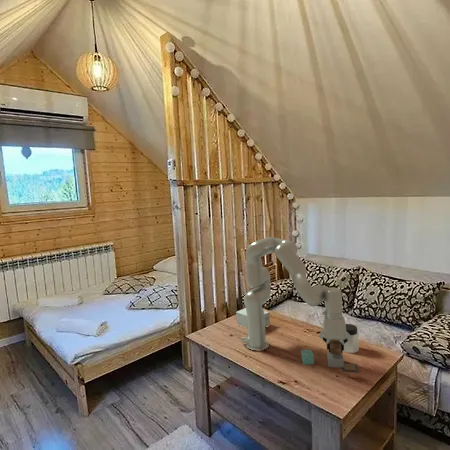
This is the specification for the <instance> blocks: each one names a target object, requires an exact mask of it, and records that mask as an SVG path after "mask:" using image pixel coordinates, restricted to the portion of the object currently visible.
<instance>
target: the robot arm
mask: <svg viewBox="0 0 450 450" xmlns="http://www.w3.org/2000/svg"><path fill="white" fill-rule="evenodd" d="M297 253H298V247H297V244H296V243H295V242H293V241H292V240H289V239H284V238H278V237H272V236H271V237H270V236H267V237H264V238H262V239H258V240H256V241H254V242H252V243H250V244H249V245H248V246H247V247H246V251H245V263H246V266H245V270H246V272H245V276H246V277H245V278H246V279H245V280H246V284H247V286H248V287H249V288H251V289H250V290H249V291H248V292H246V293H245V295H244V298H243V301H244V306H245V307H244V308H246V312H247V325H248V329H247V336H246V337H244V336H241V337H240V341H241V342H242V343H245V347H246V346H247V347H248V348H249V349H251V350H250V351H252V350H262V351H265V350H267V349H268V348H269V347H270V342H269V341H268V340H267V338H266V337H267V336H266V335H267V334H266V328H265V317H264V311H265V310H264V308H263V305H264V304H265V303H266V302H267V301H269V299H270V298H271V297H270V296H271V273H270V272H269V269H267V267H265V266H263V260H262V257H265V256H267V255H270V254H274V255H275V256H276V258H277V259H278V261H280V263H281V264H282V265H283V267H284V268H285V270H287V272H288V273H289V275H290V276H291V279H292V283H293V285H294V288H295V290H296V291H297V293H298V295H299V296H300V297H301V299H302V300H303V301H304V302H305V303H306V304H307V305H309V306H311V307H317V306H318V305H319V306H320V304H321V303H322V302H324V306H325V307H324V309H325V310H323V311H322V315H324V318H323V324H322V325H323V326H322V327H323V328H322V330H321V332H320V333H319V334H318V337H319V338H320V340H323V342H325V344H326V350H327V351H328V352H330V342H329V341H330V339H333V340H341V353H342V354H343V352H344V351H343V350H344V344H345V343H346V342H347V341H348V340H350V339H351V335H350V334H349V333H348V332H347V331H346V324H347V323H346V320H345V317H344V316H343V299H342V298H343V294H342V290H341V289H340V288H338V287H330V286H329V287H328V286H325V285H320V284H317V285H314V286H313V287H312V285H311V284H310V282H309V280H308V278H307V269H306V264H305V263H304V262H303V261H302V260H301V258H300V257H299V255H298V254H297ZM263 310H264V311H263ZM346 336H347V337H346ZM247 347H246V348H247ZM248 348H247V349H248ZM249 349H248V350H249ZM264 349H265V350H264Z"/></svg>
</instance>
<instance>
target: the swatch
mask: <svg viewBox="0 0 450 450" xmlns="http://www.w3.org/2000/svg"><path fill="white" fill-rule="evenodd" d="M341 371H342V373H343V372H344V373H345V372H347V373H359V372H360V371H359V368H358V364H357V363H350V362H349V363H347V362H344V367H341Z"/></svg>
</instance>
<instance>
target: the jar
mask: <svg viewBox="0 0 450 450" xmlns="http://www.w3.org/2000/svg"><path fill="white" fill-rule="evenodd" d="M345 324H346V331H347V332H348V333H349V334H350V335H351V339H350V340H348V341H347V342H346V343H345V344H344V350H343V352H344V353H347V354H348V353H349V354H355V353H357V352H359V351H360V349H359V348H360V347H359V333H358V327H357V325H356V324H355V325H354V324H351V323H345ZM346 337H347V336H346ZM340 341H341V340H340Z"/></svg>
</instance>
